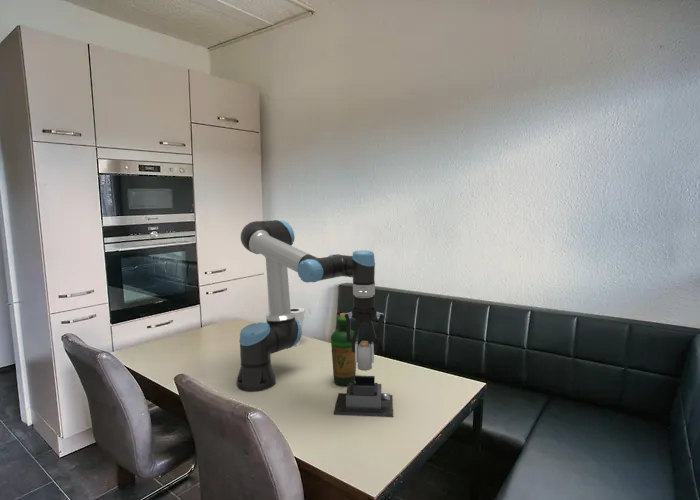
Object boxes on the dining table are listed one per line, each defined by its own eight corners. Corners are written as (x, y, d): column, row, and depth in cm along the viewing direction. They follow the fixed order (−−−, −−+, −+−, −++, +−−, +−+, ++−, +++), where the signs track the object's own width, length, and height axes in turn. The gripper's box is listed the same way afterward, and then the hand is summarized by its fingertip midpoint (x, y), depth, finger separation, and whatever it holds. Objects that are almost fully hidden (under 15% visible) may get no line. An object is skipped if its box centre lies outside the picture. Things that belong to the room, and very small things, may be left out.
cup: (304, 348, 205) (303, 312, 203) (282, 348, 205) (281, 312, 203) (306, 341, 215) (306, 307, 213) (286, 341, 215) (285, 307, 213)
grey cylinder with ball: (356, 370, 141) (356, 344, 140) (358, 364, 146) (358, 339, 145) (371, 370, 140) (371, 344, 139) (372, 365, 145) (372, 340, 144)
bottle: (338, 390, 157) (337, 319, 154) (326, 379, 167) (326, 312, 164) (362, 384, 162) (362, 315, 159) (350, 374, 172) (349, 309, 169)
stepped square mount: (333, 414, 139) (333, 389, 138) (338, 395, 153) (338, 372, 152) (392, 416, 137) (393, 391, 136) (392, 397, 151) (392, 374, 150)
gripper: (336, 297, 138) (337, 364, 140) (390, 298, 136) (390, 365, 138) (339, 293, 145) (340, 356, 148) (390, 293, 144) (390, 357, 146)
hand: (364, 361), depth 143 cm, fingers closed on grey cylinder with ball, 5 cm apart
